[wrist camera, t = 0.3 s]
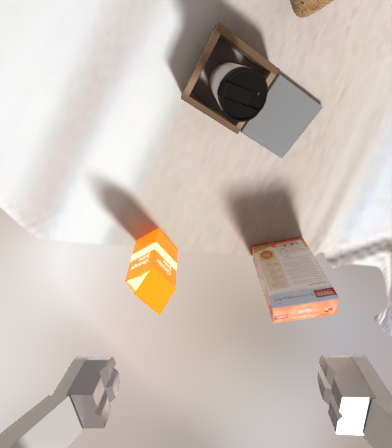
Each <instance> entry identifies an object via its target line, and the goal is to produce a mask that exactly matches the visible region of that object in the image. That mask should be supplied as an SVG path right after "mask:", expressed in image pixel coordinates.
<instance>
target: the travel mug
mask: <svg viewBox="0 0 392 448" xmlns="http://www.w3.org/2000/svg"><path fill="white" fill-rule="evenodd" d="M209 83H210V88H211V91H212V93H213V95H214V96H215V98H216V100H217V102H218V104H219V105H220V107H221V109H222V110H223V112H224V113H225V115H226V116H227V117H228V118H230V119H231V120H233V121H237V122H245V121H249V120H251V119H253V118H255V117H256V116H257V115H258V114H259V112H260V111H261V110H262V109H263V107H264V105H265V103H266V100H267V93H268V86H267V82H266V80H265V78H264V77H263V75H262V74H261V73H260V72H258V71H257V70H255V69H252V68H250V67H246V66H243V65H239V64H235V63H232V62H222V63H220V64H219V65H217V66H216V67H215V68H214V69H213V71H212V73H211V75H210V82H209Z"/></svg>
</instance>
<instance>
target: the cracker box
mask: <svg viewBox="0 0 392 448" xmlns="http://www.w3.org/2000/svg"><path fill="white" fill-rule="evenodd" d="M252 251H253V261H254V264H255V267H256V270H257V274H258V277H259V280H260V283H261V286H262V289H263V292H264V296H265V299H266V302H267V305H268V308H269V311H270V314H271V317H272V321H273V323H279V322H286V321H292V320H299V319H306V318H313V317H320V316H327V315H333V314H336V313H337V306H338V301H339V297H338V295H337V294H336V292H335V290H334V289H333V287H332V285H331V284H330V282H329V280H328V279H327V277H326V275H325V274H324V272H323V270H322V269H321V267H320V265H319V264H318V262H317V261H316V259H315V257H314V256H313V254H312V252H311V251H310V249H309V247H308V246H307V244H306V242H305V241H304V239H303V238H297V239H292V240H286V241H280V242H274V243H269V244H263V245H257V246H252Z"/></svg>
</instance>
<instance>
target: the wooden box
mask: <svg viewBox="0 0 392 448" xmlns="http://www.w3.org/2000/svg"><path fill="white" fill-rule="evenodd" d="M219 37H220V38H221V39H222V40H224V41H225V42H226V43H228V44H229V45H230V46H232V47H233V48H234V49H236V50H237V51H238V52H240V53H241V54H242V55H244V56H245V57H246V58H248V59H249V60H250V61H252V62H253V63H254V64H256V65H257V66H258V67H259V68H261V69H262V72H261V74H262V75H263V77H264V78H265V80H266V82H267V86H268V87H269V85H270V84H271V82H272V81H273V79H274V78H275V76H276V75H277V73H278V72H279V70H280V69H278V68H277V67H276V66H275V65H273V64H272V63H271V62H269V61H268V60H267V59H265V58H264V57H263V56H262V55H260V54H259V53H258V52H256V51H255V50H254V49H253V48H251V47H250V46H249V45H247V44H246V43H245V42H243V41H242V40H241V39H240V38H238V37H237V36H236V35H234V34H233V33H232V32H231V31H229V30H228V29H227V28H225V27H224V26H223V25H221V24H220V23H218V24H217V25H216V26H215V28H214V30H213V32H212V34H211V36H210V38H209V40H208V42H207V44H206V46H205V48H204V50H203V52H202V54H201V56H200V58H199V60H198V62H197V64H196V66H195V68H194V70H193V72H192V74H191V76H190V78H189V80H188V82H187V84H186V86H185V88H184V90H183V92H182V96H181V99H182V100H184V101H186V102H187V103H189V104H190V105H192V106H194V107H195V108H197V109H198V110H200V111H201V112H203V113H205V114H206V115H208V116H209V117H211V118H213V119H214V120H216V121H217V122H219V123H220V124H222V125H224V126H225V127H227V128H228V129H230V130H232V131H233V132H235V133H236V134H238V133H239V131H240V129H241V128H242V126H243V125H244V123H245V122H246V121H245V122H237V121H233V120H231V119H230V118H228V117H227V116H226V115H224V114H223V113H221V112H220V111H218V110H217V109H215V108H213V107H212V106H210V105H209V104H207V103H206V102H204V101H203V100H201V99H200V98H198V97H196V96H195V95H193V94H192V93H191V91H192V89H193V87H194V85H195V83H196V82H197V80H198V78H199V76H200V74H201V72H202V70H203V68H204V66H205V64H206V62H207V60H208V58H209V56H210V54H211V52H212V50H213V48H214V46H215V45H216V43H217V41H218V39H219Z"/></svg>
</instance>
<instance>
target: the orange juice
mask: <svg viewBox="0 0 392 448" xmlns="http://www.w3.org/2000/svg"><path fill="white" fill-rule="evenodd" d="M177 251H178V249H177V248H176V247H175V246H174V244H173V243H172V242H171V241H170V240H169V239H168V238H167V237H166V236H165V235H164V233H163V232H162V231H161V230H160V229H159V228H157V229H156V230H154V231H152V232H150V233H149V234H147V235H145V236H143V237H142V238H140V239H138V240H136V244H135V247H134V251H133V255H132V258H131V261H130V265H129V269H128V272H127V276H126V280H125V281H126V282H127V283H128V284H129V286H130V287H131V289H132V290H133V292H134V294H135V295H136V296H137V297H138V298H140V299H141V300H142V301H143V302H144V303H145V304H147V305H148V306H149V307H150V308H151V309H153V310H154V311H155V312H156V313H158V314H159V315H160V314H161V313H162V311H163V309H164V308H165V306H166V304H167V303H168V301H169V299H170V297H171V296H172V294H173V292H174V290H175V283H176V270H177Z"/></svg>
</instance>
